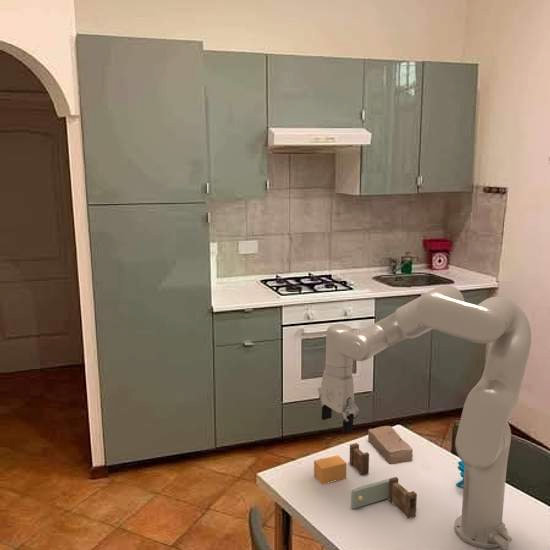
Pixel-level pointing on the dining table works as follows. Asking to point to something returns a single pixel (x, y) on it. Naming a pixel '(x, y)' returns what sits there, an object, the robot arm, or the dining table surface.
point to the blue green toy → (462, 469)
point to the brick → (390, 445)
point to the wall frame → (396, 491)
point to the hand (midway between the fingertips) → (336, 425)
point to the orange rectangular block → (329, 469)
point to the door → (369, 493)
